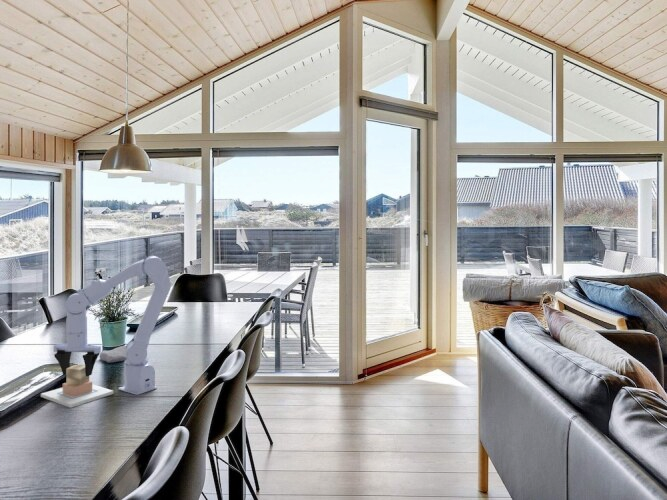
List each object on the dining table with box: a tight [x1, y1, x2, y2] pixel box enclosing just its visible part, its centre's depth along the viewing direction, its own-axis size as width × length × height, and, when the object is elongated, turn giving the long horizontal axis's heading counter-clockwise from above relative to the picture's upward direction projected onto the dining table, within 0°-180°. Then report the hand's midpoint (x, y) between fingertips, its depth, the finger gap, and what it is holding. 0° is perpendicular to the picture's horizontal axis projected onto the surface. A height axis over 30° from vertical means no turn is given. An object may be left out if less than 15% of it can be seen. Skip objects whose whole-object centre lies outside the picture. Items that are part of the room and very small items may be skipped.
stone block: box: [99, 345, 127, 363], centre depth 193 cm, size 12×5×10 cm
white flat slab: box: [40, 380, 115, 408], centre depth 152 cm, size 16×14×4 cm
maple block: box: [65, 364, 90, 385], centre depth 152 cm, size 5×5×5 cm
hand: (77, 374), depth 152 cm, fingers open, 7 cm apart
